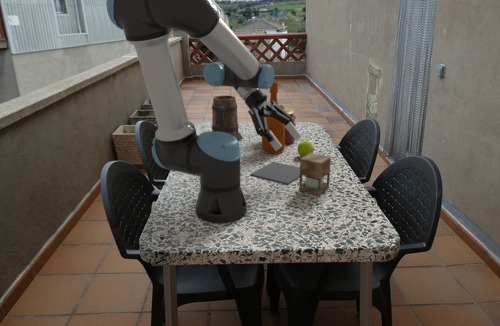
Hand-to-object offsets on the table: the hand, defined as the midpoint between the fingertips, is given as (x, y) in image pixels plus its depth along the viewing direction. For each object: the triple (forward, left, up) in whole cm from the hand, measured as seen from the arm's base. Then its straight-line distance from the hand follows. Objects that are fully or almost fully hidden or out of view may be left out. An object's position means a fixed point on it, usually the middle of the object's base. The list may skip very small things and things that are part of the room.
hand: (289, 143), depth 133 cm
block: (+3, -10, -14) cm, 18 cm away
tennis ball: (+23, +16, -14) cm, 32 cm away
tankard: (+9, +58, -14) cm, 60 cm away
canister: (+29, +39, -14) cm, 51 cm away
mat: (+3, +8, -14) cm, 17 cm away
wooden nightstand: (+3, -10, -14) cm, 17 cm away
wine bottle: (+17, +30, -14) cm, 38 cm away
